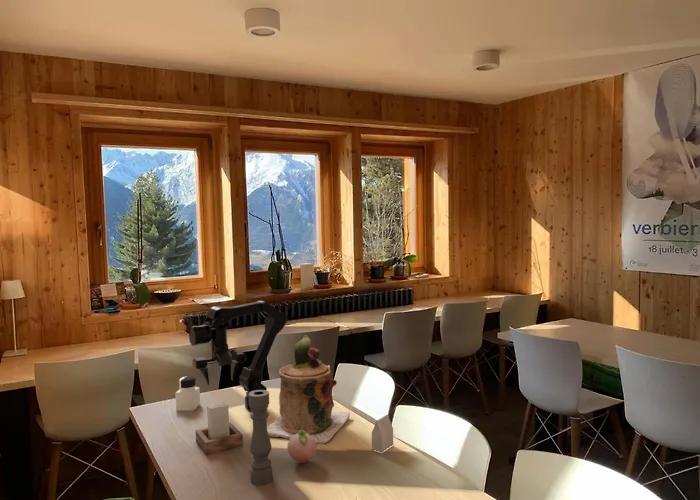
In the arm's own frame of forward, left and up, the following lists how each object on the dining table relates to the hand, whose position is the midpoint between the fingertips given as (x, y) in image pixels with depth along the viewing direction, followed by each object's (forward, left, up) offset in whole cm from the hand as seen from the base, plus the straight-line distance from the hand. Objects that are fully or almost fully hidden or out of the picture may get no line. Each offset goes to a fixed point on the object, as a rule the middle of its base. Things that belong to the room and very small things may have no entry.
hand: (220, 382), depth 200 cm
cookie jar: (-23, +26, -13) cm, 37 cm away
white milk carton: (-35, +55, -13) cm, 66 cm away
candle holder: (+5, +53, -13) cm, 55 cm away
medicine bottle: (+8, -17, -13) cm, 23 cm away
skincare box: (+8, +23, -12) cm, 27 cm away
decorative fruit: (-9, +50, -13) cm, 52 cm away
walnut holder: (+8, +23, -13) cm, 28 cm away
